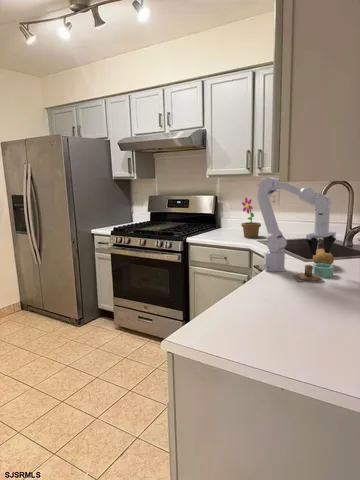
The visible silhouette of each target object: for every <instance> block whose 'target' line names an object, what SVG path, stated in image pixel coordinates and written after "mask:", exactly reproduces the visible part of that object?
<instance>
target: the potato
mask: <svg viewBox="0 0 360 480" xmlns="http://www.w3.org/2000/svg"><path fill="white" fill-rule="evenodd" d="M334 259H335V258H334V255H333V254H332V253H331V251H330V252H329V253H325V252H324V248H318V249H317V250H316V255H312V261H313V263H314V264H329V265H332V264H333V263H334V261H335V260H334Z"/></svg>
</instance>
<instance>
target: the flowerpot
mask: <svg viewBox="0 0 360 480" xmlns="http://www.w3.org/2000/svg"><path fill="white" fill-rule="evenodd" d="M244 197H245V196H244ZM251 203H252V199H249V200H248V198H247V197H245V199H244V201H242V202H241V205H242V206H243V208H242V211H243V213H244V212H246V213H247V215H249V214H250V217H247V220H249V221H248V222H247V221H246V222H242V223H241V227H242V231H243V237H244V238H246V239H257V238H258V237H259V232H260V227H261V226H262V223H261V222H253V218H254V217H255V213H254V212H252V210H253V206H252V205H251Z"/></svg>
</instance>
